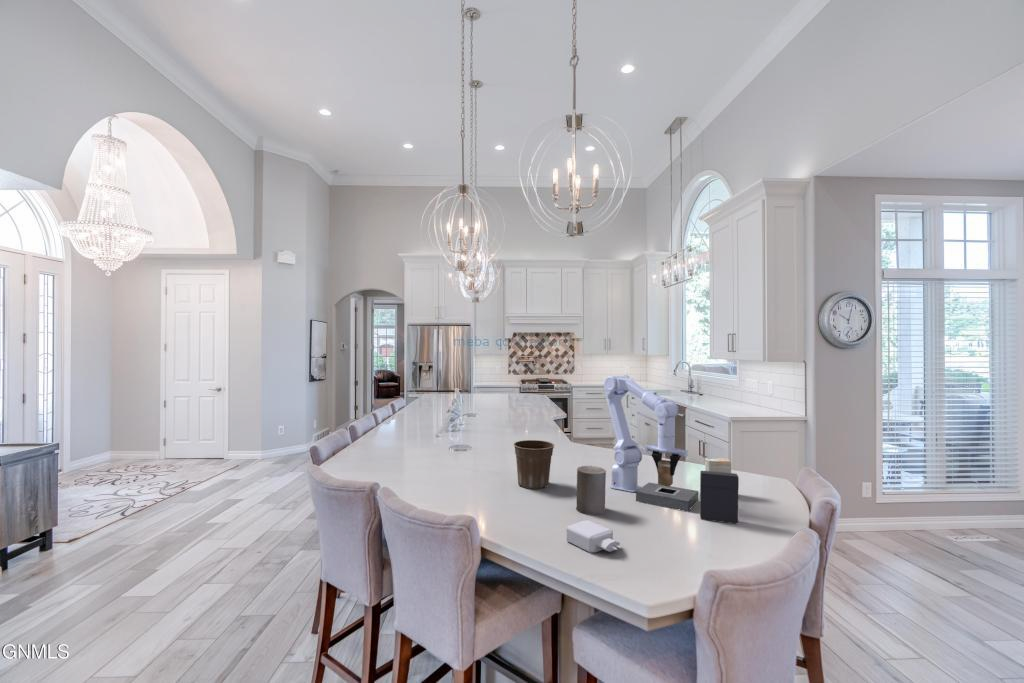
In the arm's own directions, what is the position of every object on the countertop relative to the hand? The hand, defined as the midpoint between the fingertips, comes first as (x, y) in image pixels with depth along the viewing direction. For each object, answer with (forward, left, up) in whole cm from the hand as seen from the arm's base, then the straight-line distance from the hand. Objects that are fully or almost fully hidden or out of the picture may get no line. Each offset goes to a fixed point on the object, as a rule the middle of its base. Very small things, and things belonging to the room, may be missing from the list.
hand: (665, 473), depth 170 cm
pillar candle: (-18, -24, -10) cm, 31 cm away
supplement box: (+13, +21, -10) cm, 27 cm away
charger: (-3, -50, -10) cm, 51 cm away
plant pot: (-49, -11, -10) cm, 51 cm away
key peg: (0, 0, -3) cm, 4 cm away
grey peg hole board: (0, +1, -10) cm, 10 cm away
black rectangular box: (+19, -8, -10) cm, 23 cm away
